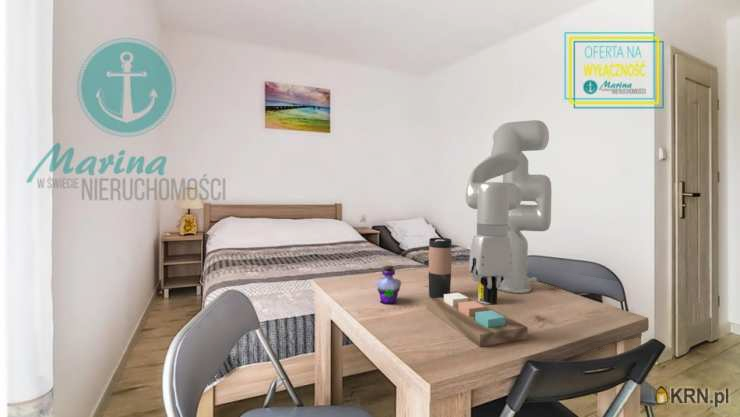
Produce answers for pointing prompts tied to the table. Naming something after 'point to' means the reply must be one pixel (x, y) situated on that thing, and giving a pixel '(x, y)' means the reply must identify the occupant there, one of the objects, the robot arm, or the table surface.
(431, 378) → the table surface
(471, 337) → the console
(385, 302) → the potion bottle
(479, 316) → the teal button
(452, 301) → the ivory button
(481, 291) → the supplement bottle
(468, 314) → the terracotta button
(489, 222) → the robot arm
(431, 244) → the travel mug
